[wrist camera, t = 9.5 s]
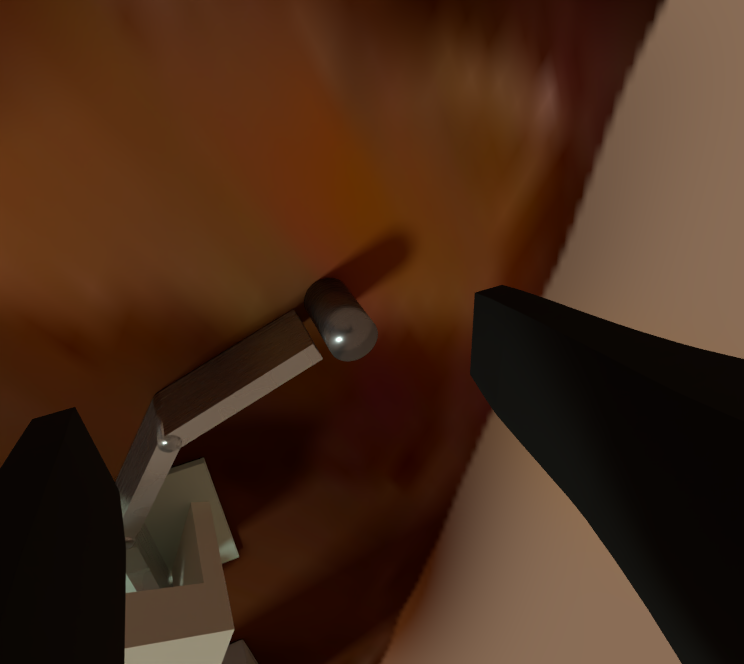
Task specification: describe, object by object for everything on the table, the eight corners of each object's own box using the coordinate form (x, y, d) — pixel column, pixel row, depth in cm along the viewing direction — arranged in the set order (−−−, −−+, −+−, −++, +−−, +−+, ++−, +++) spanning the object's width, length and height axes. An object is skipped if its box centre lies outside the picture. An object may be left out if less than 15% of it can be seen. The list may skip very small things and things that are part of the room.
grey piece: (60, 607, 24) (56, 675, 22) (220, 238, 18) (238, 277, 16) (183, 601, 27) (191, 660, 25) (355, 285, 21) (386, 324, 19)
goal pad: (88, 609, 25) (88, 615, 24) (21, 517, 21) (19, 524, 20) (237, 552, 27) (239, 557, 26) (203, 457, 23) (204, 462, 22)
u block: (189, 569, 25) (207, 700, 21) (74, 582, 23) (67, 734, 18) (209, 501, 24) (234, 629, 19) (87, 507, 21) (82, 656, 17)
